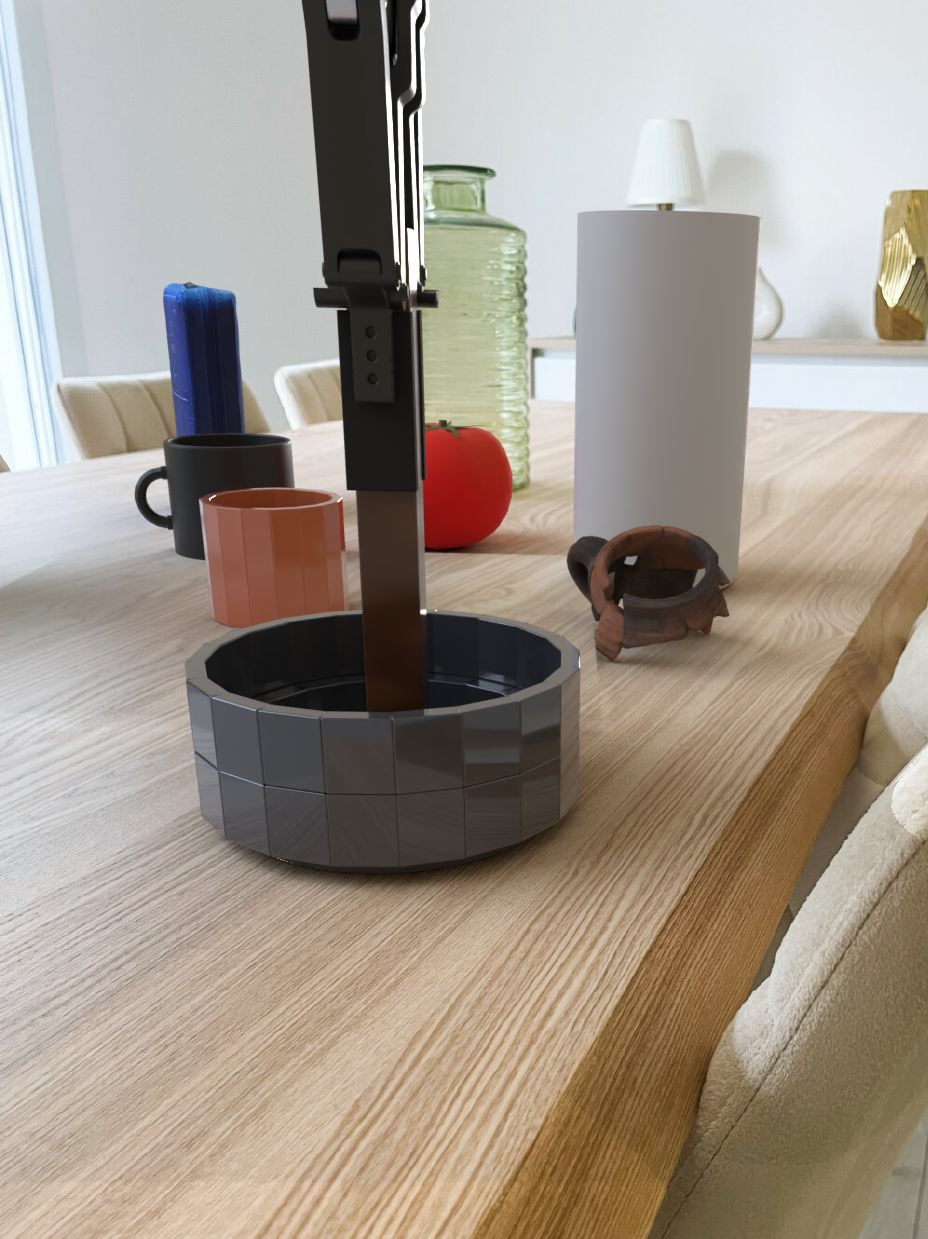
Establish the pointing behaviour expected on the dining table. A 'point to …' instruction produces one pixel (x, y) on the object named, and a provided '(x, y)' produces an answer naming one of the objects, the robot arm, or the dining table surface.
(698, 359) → the cylinder vase
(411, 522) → the stick
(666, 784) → the dining table surface
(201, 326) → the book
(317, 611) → the pot
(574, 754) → the bowl
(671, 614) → the pottery mug
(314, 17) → the robot arm
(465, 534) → the tomato
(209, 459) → the mug
